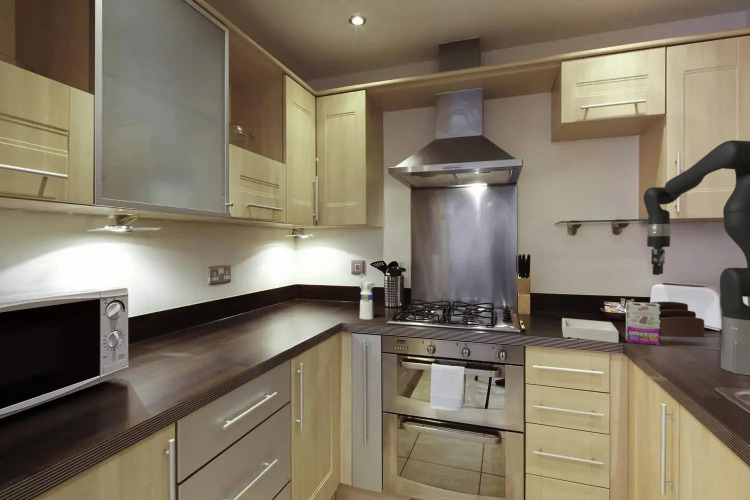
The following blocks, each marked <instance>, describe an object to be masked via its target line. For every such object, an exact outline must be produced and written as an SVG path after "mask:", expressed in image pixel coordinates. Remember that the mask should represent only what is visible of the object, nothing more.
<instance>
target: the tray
mask: <svg viewBox="0 0 750 500" xmlns="http://www.w3.org/2000/svg"><path fill="white" fill-rule="evenodd" d="M561 329H562V337H563V338H568V337H571V338H570V339H577V338H579V340H588V341H597V342H606V343H607V342H608V343H616V344H618V343H619V330H617V328H616V326H615V325H614V324H613V323H612V322H611V321H601V320H600V321H599V320H589V319H577V318H565V317H562V319H561Z"/></svg>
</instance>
